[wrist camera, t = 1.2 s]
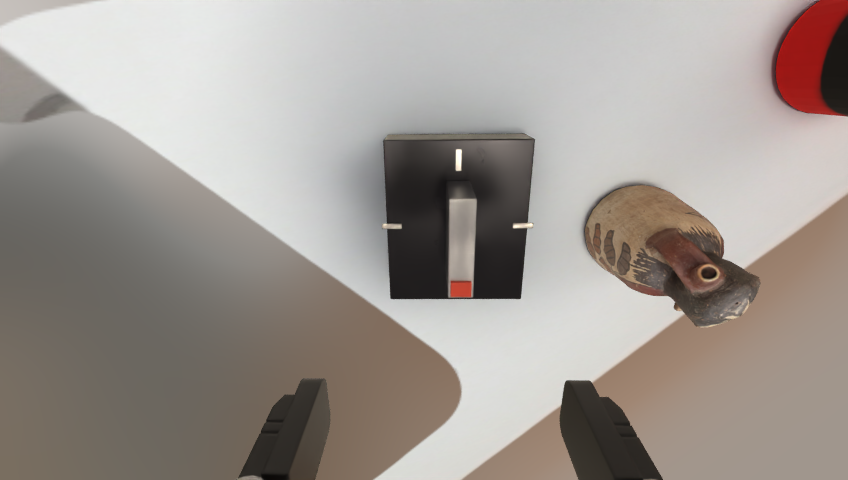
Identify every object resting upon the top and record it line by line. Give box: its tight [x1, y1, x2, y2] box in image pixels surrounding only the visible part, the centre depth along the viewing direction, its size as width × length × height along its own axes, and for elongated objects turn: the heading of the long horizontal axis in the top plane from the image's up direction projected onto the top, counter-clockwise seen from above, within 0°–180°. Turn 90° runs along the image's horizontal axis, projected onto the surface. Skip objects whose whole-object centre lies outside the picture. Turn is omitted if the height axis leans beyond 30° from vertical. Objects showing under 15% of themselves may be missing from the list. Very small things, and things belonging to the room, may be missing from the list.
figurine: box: [585, 185, 760, 328], centre depth 26 cm, size 7×7×12 cm
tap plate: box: [382, 133, 535, 299], centre depth 30 cm, size 12×11×3 cm
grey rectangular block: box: [445, 181, 477, 298], centre depth 27 cm, size 6×2×5 cm, turn 1°
